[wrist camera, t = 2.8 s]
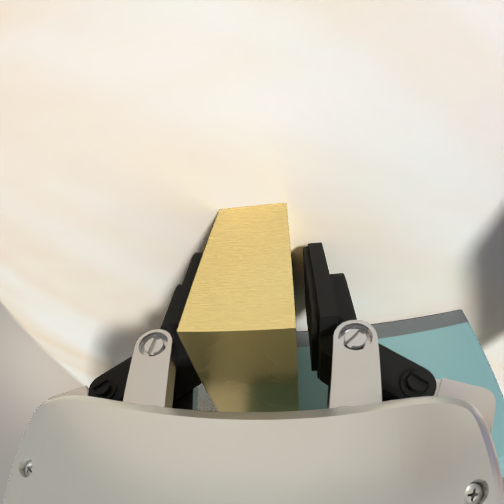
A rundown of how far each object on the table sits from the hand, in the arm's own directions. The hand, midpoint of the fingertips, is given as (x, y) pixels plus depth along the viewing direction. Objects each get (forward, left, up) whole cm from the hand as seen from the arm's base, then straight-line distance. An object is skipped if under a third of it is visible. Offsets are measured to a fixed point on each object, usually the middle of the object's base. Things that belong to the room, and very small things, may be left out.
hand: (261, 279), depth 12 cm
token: (0, 0, -1) cm, 1 cm away
